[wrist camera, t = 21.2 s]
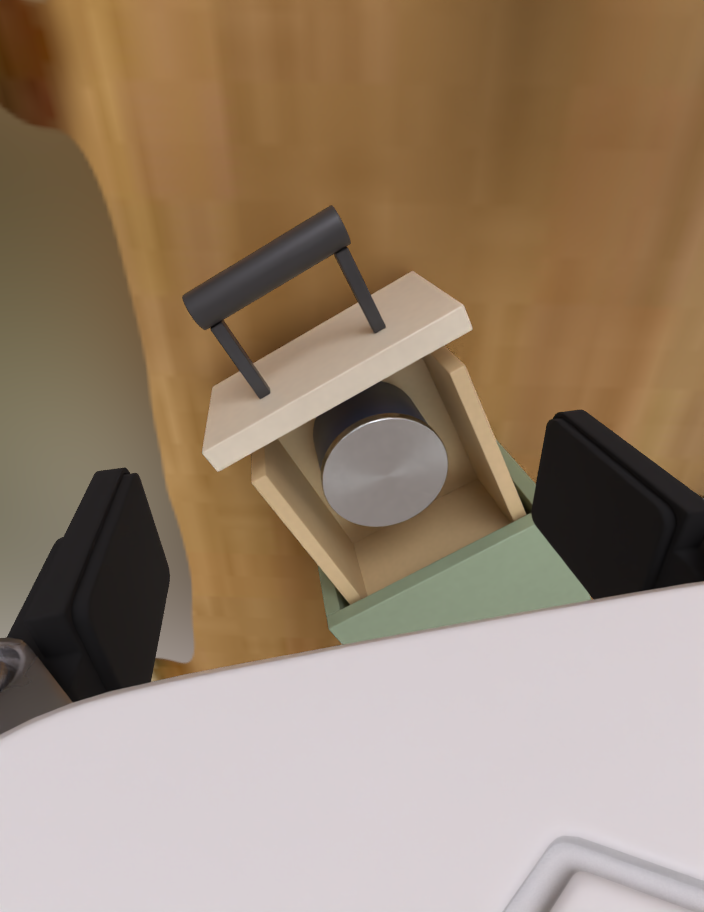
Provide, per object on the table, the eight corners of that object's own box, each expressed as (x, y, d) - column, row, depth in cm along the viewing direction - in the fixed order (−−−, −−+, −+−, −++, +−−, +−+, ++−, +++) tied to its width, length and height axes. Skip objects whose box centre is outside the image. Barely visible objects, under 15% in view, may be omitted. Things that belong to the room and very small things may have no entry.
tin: (301, 390, 27) (311, 432, 23) (417, 368, 28) (447, 405, 24) (320, 486, 31) (332, 538, 27) (422, 465, 31) (450, 513, 27)
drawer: (146, 300, 25) (111, 348, 18) (368, 165, 23) (412, 167, 17) (335, 549, 35) (354, 633, 29) (495, 465, 34) (551, 534, 28)
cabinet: (310, 523, 35) (328, 629, 27) (487, 429, 33) (560, 511, 25) (400, 641, 43) (434, 748, 35) (545, 569, 42) (614, 664, 34)
